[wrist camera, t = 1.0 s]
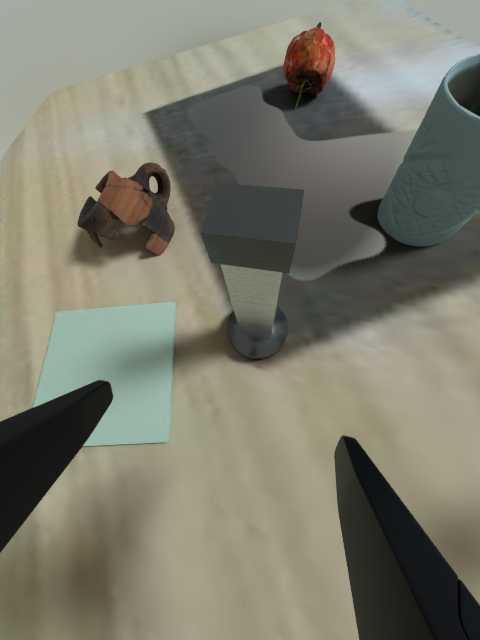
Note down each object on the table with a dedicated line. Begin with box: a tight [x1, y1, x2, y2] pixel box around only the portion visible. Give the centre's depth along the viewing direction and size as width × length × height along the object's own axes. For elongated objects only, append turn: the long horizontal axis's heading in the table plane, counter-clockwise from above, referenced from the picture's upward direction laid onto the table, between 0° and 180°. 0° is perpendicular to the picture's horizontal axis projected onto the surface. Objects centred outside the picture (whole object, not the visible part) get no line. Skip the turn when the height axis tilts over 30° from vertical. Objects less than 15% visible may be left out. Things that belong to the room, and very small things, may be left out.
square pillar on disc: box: [201, 183, 304, 359], centre depth 16 cm, size 6×6×16 cm
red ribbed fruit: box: [283, 22, 335, 109], centre depth 34 cm, size 7×7×10 cm
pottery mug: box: [78, 163, 175, 256], centre depth 28 cm, size 12×10×8 cm
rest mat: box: [33, 302, 176, 446], centre depth 23 cm, size 14×14×1 cm
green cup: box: [377, 54, 480, 247], centre depth 21 cm, size 10×10×12 cm
